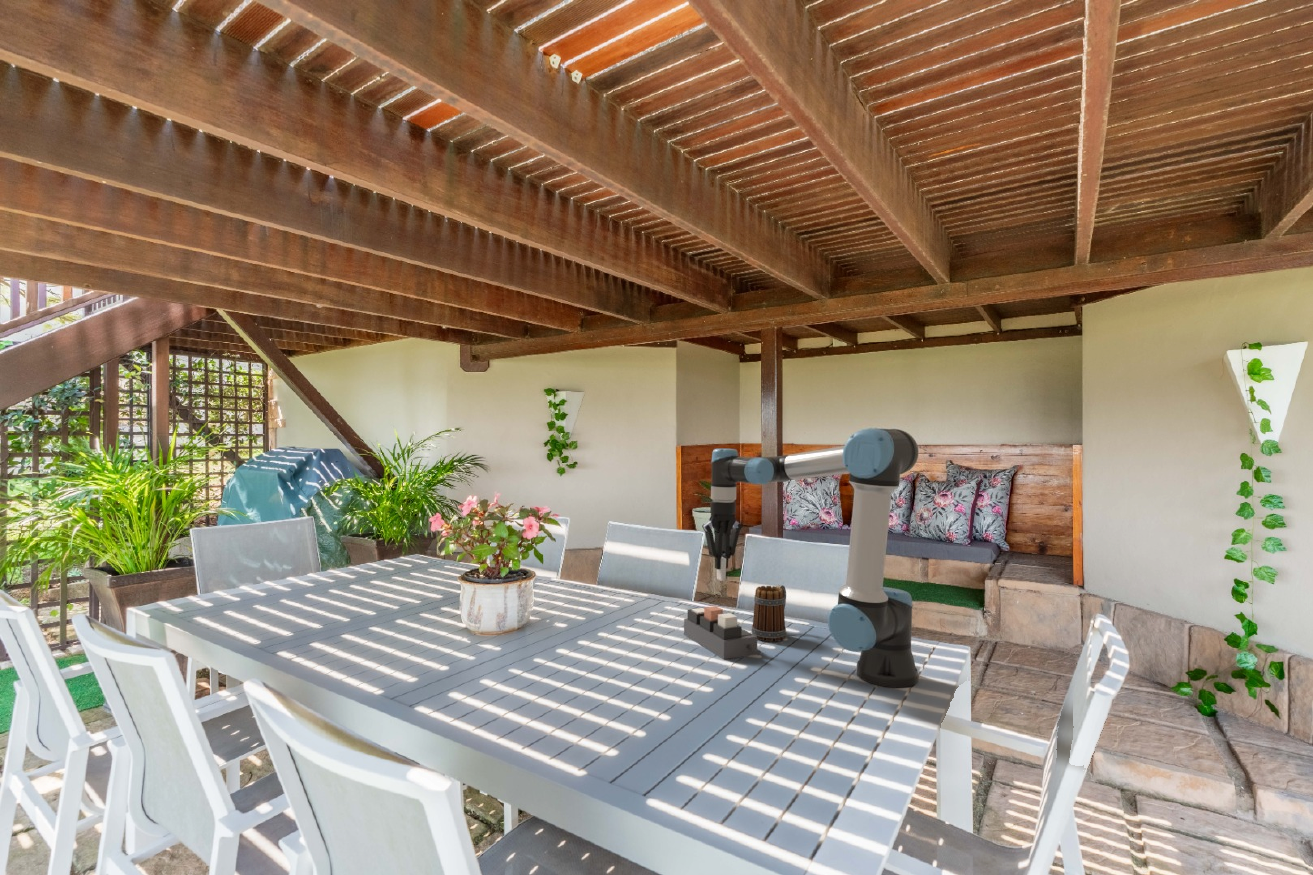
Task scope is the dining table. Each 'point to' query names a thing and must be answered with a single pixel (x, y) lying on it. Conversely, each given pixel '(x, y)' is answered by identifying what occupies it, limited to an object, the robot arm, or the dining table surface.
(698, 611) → the button
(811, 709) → the dining table surface
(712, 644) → the push button switch box
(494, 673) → the dining table surface
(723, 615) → the button
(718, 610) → the button
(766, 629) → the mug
